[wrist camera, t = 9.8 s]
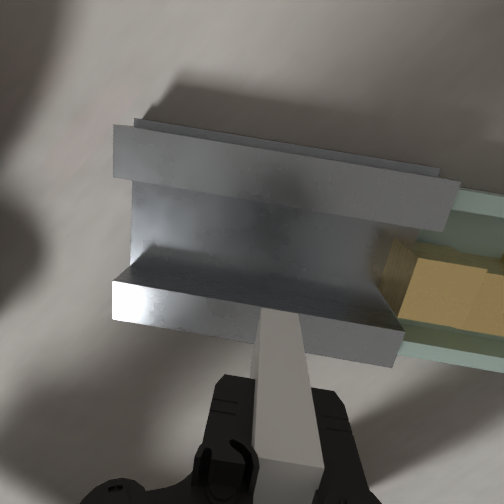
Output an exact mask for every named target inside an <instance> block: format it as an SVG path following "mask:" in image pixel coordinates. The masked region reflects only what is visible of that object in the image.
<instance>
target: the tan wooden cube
mask: <svg viewBox="0 0 504 504" xmlns="http://www.w3.org/2000/svg"><path fill="white" fill-rule="evenodd" d="M487 270H488V269H486V268H485V267H483V266H482V265H480V264H478V263H477V262H475V261H473V260H472V259H470V258H469V257H467V256H465V255H464V254H462V253H461V252H459V251H457V250H456V249H454V248H452V247H448V246H442V245H436V244H430V243H424V242H418V241H412V240H406V239H400V238H394V240H393V243H392V246H391V250H390V253H389V256H388V259H387V262H386V265H385V268H384V272H383V275H382V278H381V281H380V284H379V287H378V290H379V291H380V293H381V294H382V296H383V297H384V299H385V300H386V302H387V303H388V305H389V306H390V308H391V309H392V310H393V312H394V313H395V315H396V316H397V318H403V319H409V320H414V321H420V322H426V323H432V324H438V325H444V326H450V327H456V328H462V327H463V325H464V323H465V320H466V318H467V316H468V313H469V311H470V309H471V307H472V304H473V302H474V300H475V297H476V295H477V293H478V291H479V288H480V286H481V284H482V282H483V279H484V277H485V275H486V272H487Z"/></svg>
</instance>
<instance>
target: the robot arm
mask: <svg viewBox="0 0 504 504" xmlns="http://www.w3.org/2000/svg"><path fill="white" fill-rule="evenodd" d="M80 504H382V503H381V502H380V501H379V500H378V499H377V497H376V496H375V495H374V494H373V493H372V492H370V490H369V488H368V485H367V482H366V478H365V475H364V471H363V468H362V465H361V461H360V458H359V454H358V451H357V447H356V444H355V440H354V437H353V435H352V430H351V426H350V423H349V422H348V416H347V413H346V409H345V406H344V404H343V402H342V401H341V400H340V398H339V397H338V396H337V394H336V393H335V392H334V391H330V390H324V389H317V388H311V386H310V380H309V374H308V368H307V363H306V357H305V351H304V345H303V339H302V333H301V327H300V321H299V316H298V314H297V313H291V312H285V311H279V310H273V309H267V308H261V313H260V319H259V324H258V330H257V335H256V340H255V346H254V351H253V357H252V362H251V372H250V378H244V377H238V376H232V375H226V374H224V375H223V377H222V378H221V379H220V380H219V381H218V382H217V384H216V385H215V389H214V394H213V398H212V402H211V407H210V412H209V416H208V420H207V424H206V429H205V433H204V438H203V442H202V444H201V445H200V446H199V448H198V450H197V453H196V455H195V458H194V465H193V471H192V472H191V474H190V475H188V476H187V477H186V478H185V479H184V480H183V481H181V482H179V483H177V484H176V485H173V486H170V487H166V488H162V489H156V490H151V491H145V489H144V487H143V486H141V485H140V484H139V483H137V482H136V481H135V480H130V479H126V478H119V479H113V480H109V481H107V482H105V483H103V484H101V485H99V486H97V487H95V488H94V489H93V490H92V491H91V492H90V493H89V494H88V495H87V496H86V497H85V498H84V499H83V500H82V501H81V503H80Z"/></svg>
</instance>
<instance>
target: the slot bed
mask: <svg viewBox="0 0 504 504" xmlns="http://www.w3.org/2000/svg"><path fill="white" fill-rule="evenodd" d="M440 169H441V168H435V167H430V166H424V165H418V164H412V163H405V162H399V161H393V160H387V159H381V158H375V157H369V156H363V155H357V154H351V153H345V152H339V151H332V150H326V149H320V148H314V147H308V146H302V145H296V144H290V143H284V142H278V141H272V140H266V139H260V138H253V137H247V136H241V135H235V134H229V133H223V132H217V131H211V130H205V129H199V128H193V127H187V126H180V125H174V124H168V123H162V122H156V121H150V120H144V119H137V118H134V126H126V125H114V137H113V177H115V178H121V179H127V180H133V184H132V222H131V261H130V266H129V267H128V268H127V269H126V270H125V271H124V272H123V273H121V274H120V275H119V276H118V277H117V278H116V279H114V280H113V310H112V319H116V320H121V321H127V322H133V323H138V324H144V325H150V326H155V327H161V328H167V329H173V330H178V331H184V332H190V333H195V334H201V335H207V336H212V337H218V338H224V339H229V340H235V341H241V342H247V343H252V344H255V340H256V335H257V330H258V324H259V319H260V313H261V308H267V309H273V310H279V311H285V312H291V313H297V314H298V316H299V321H300V327H301V333H302V339H303V345H304V351H305V353H309V354H315V355H321V356H326V357H332V358H338V359H343V360H349V361H355V362H360V363H366V364H372V365H378V366H383V367H389V368H392V367H393V364H394V361H395V359H396V356H397V353H398V351H399V348H400V345H401V343H402V340H403V337H404V335H405V330H404V329H403V327H402V326H401V324H400V323H399V321H398V320H397V318H396V317H395V315H394V314H393V312H392V309H391V308H390V306H389V305H388V303H387V302H386V300H385V299H384V297H383V296H382V294H381V293H380V291H379V290H378V287H379V284H380V281H381V278H382V275H383V272H384V268H385V265H386V262H387V259H388V256H389V253H390V250H391V246H392V243H393V240H394V238H400V239H406V240H412V241H416V238H417V236H418V233H419V230H420V229H425V230H431V231H437V232H443V230H444V227H445V225H446V222H447V219H448V217H449V214H450V211H451V209H452V206H453V203H454V201H455V198H456V195H457V192H458V190H459V187H460V184H461V182H460V181H456V180H451V179H447V178H443V177H439V176H438V175H439V172H440Z"/></svg>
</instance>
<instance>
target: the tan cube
mask: <svg viewBox="0 0 504 504" xmlns="http://www.w3.org/2000/svg"><path fill="white" fill-rule="evenodd" d="M461 253H462V254H464V255H465V256H467V257H469V258H470V259H472V260H473V261H475V262H477V263H478V264H480V265H482V266H483V267H485V268H486V269H488V270H487V272H486V275H485V277H484V279H483V282H482V284H481V286H480V288H479V291H478V293H477V295H476V297H475V300H474V302H473V304H472V307H471V309H470V311H469V313H468V316H467V318H466V320H465V323H464V325H463V327H462V328H456V327H453V328H456V329H462V330H468V331H474V332H480V333H485V334H491V335H497V336H503V337H504V260H502V259H499V258H493V257H487V256H481V255H475V254H469V253H463V252H461Z"/></svg>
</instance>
